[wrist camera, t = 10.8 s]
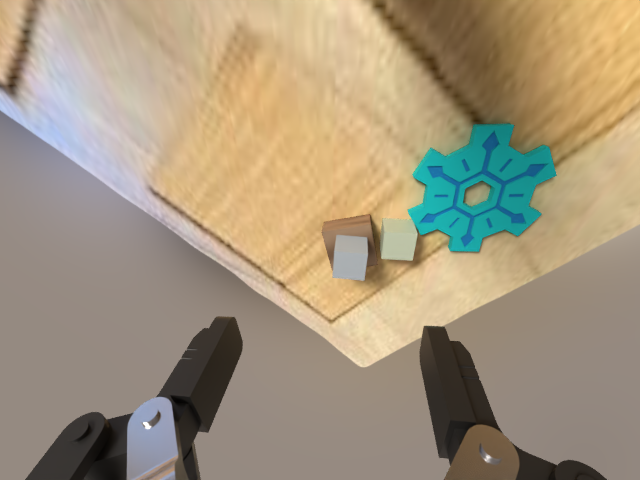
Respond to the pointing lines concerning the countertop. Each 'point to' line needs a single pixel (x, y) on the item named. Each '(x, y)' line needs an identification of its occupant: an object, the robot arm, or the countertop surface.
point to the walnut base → (350, 228)
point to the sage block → (398, 239)
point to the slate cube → (350, 257)
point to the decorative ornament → (470, 168)
